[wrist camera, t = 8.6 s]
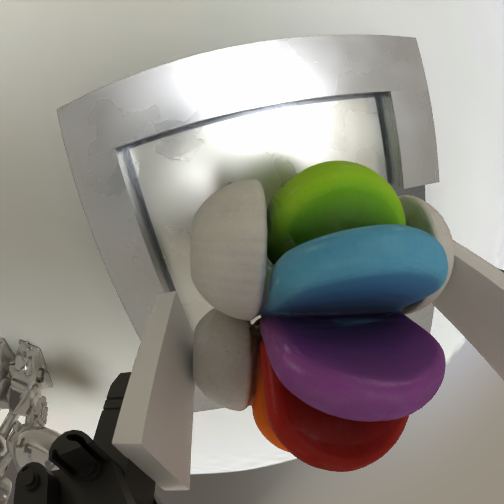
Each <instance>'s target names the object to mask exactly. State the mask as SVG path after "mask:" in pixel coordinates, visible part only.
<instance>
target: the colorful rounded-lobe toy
mask: <svg viewBox="0 0 504 504" xmlns="http://www.w3.org/2000/svg"><path fill="white" fill-rule="evenodd" d="M453 263H454V246H453V240H452V236H451V233H450V230H449V228H448V226H447V224H446V222H445V221H444V219H443V217H442V216H441V215H440V214H439V212H438V211H437V210H435V209H434V208H433V207H432V206H431V205H430V204H428V203H427V202H425V201H424V200H422V199H419V198H417V197H415V196H411V195H401V196H397V194H396V192H395V191H394V189H393V188H392V187H391V186H390V184H389V183H388V182H387V181H386V180H385V179H384V178H383V177H381V176H380V175H379V174H378V173H376V172H375V171H373V170H372V169H370V168H368V167H366V166H364V165H361V164H358V163H354V162H348V161H337V160H335V161H327V162H322V163H319V164H316V165H313V166H310V167H308V168H306V169H305V170H303V171H301V172H300V173H298V174H297V175H295V176H294V177H293V178H292V179H291V180H289V181H288V182H287V183H286V184H285V185H284V186H283V187H282V188H281V189H280V190H279V191H278V193H277V194H276V195H274V196H272V198H271V199H270V202H269V204H268V207H267V208H266V200H265V195H264V190H263V187H262V184H261V183H260V182H259V181H258V180H254V179H249V180H242V181H238V182H234V183H231V184H229V185H227V186H225V187H223V188H221V189H219V190H218V191H216V192H215V193H213V194H212V195H211V196H210V197H209V198H208V199H207V200H206V201H205V202H204V203H203V204H202V205H201V206H200V208H199V209H198V210H197V212H196V214H195V216H194V220H193V224H192V234H191V252H190V269H191V278H192V281H193V283H194V285H195V287H196V289H197V290H198V292H199V293H200V294H201V295H202V296H203V298H204V299H205V300H206V301H207V302H208V303H209V304H210V305H212V306H213V307H214V308H213V309H212V310H210V311H209V312H208V313H207V314H206V315H204V316H203V318H202V319H201V320H200V321H199V322H198V324H197V326H196V328H195V332H194V345H193V378H194V381H195V383H196V385H197V386H198V388H199V389H200V390H201V391H202V393H203V394H204V395H205V396H206V397H208V398H209V399H210V400H211V401H213V402H214V403H216V404H218V405H220V406H222V407H225V408H227V409H231V410H236V411H242V410H244V409H246V408H247V407H248V406H249V405H251V406H252V409H253V416H254V420H255V422H256V425H257V426H258V428H259V430H260V431H261V433H262V434H263V435H264V436H265V438H266V439H267V440H269V441H270V442H271V443H272V444H274V445H275V446H276V447H278V448H280V449H282V450H285V451H287V452H290V453H292V454H293V455H294V456H295V457H297V458H298V459H300V460H301V461H303V462H305V463H307V464H309V465H311V466H313V467H316V468H320V469H324V470H329V471H337V472H346V471H353V470H357V469H360V468H363V467H365V466H367V465H369V464H371V463H373V462H375V461H376V460H378V459H379V458H381V457H382V456H383V455H385V453H387V452H388V451H389V450H390V449H391V448H392V446H393V445H394V444H395V443H396V442H397V440H398V439H399V437H400V435H401V434H402V432H403V430H404V428H405V425H406V422H407V420H408V417H409V415H410V414H412V413H414V412H415V411H417V410H419V409H420V408H422V407H423V406H424V405H425V404H426V403H428V402H429V401H430V400H431V399H432V398H433V396H434V395H435V393H436V392H437V391H438V389H439V387H440V385H441V383H442V381H443V378H444V374H445V373H444V372H445V355H444V352H443V349H442V348H441V346H440V344H439V343H438V342H437V340H436V339H435V338H434V337H433V336H432V335H431V334H430V333H429V332H427V331H426V330H425V329H423V328H422V327H421V326H419V325H418V324H417V323H415V322H414V321H412V320H411V319H410V318H408V317H407V316H406V315H405V314H411V313H414V312H416V311H419V310H421V309H423V308H425V307H426V306H428V305H429V304H431V303H432V302H433V301H434V300H435V299H436V298H437V297H438V296H439V295H440V294H441V293H442V291H443V290H444V288H445V286H446V285H447V283H448V281H449V278H450V276H451V273H452V269H453ZM259 315H260V316H261V318H259V319H258V320H256V321H255V323H253V324H251V320H253V319H254V318H255V317H257V316H259Z"/></svg>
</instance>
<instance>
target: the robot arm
mask: <svg viewBox="0 0 504 504" xmlns="http://www.w3.org/2000/svg"><path fill="white" fill-rule="evenodd" d="M453 246H454V263H453V269H452V273H451V276H450V278H449V281H448V283H447V285H446V286H445V288H444V290H443V291H442V293H441V294H440V295H439V296H438V297H437V298H436V299H435V300H434V301H433V302H432V304H433V305H434V306H435V307H436V308H437V309H438V310H439V311H440V312H441V313H442V314H443V315H444V316H445V317H446V318H447V319H448V320H449V321H450V322H451V323H452V324H453V325H454V326H455V327H456V328H457V329H458V330H459V331H460V332H461V333H462V334H463V336H464V337H465V338H466V339H467V340H468V341H469V342H470V343H471V344H472V345H473V346H474V347H475V348H476V349H477V351H478V352H479V353H480V354H481V355H482V356H483V357H484V358H485V360H486V361H487V362H488V363H489V364H490V365H491V366H492V367H493V369H494V370H495V371H496V372H497V373H498V374H499V376H500V377H501V378H502V379H503V380H504V270H501V269H498V268H496V267H495V266H493V265H492V264H490V263H489V262H487V261H486V260H484V259H482V258H481V257H479V256H478V255H476V254H475V253H473V252H472V251H470V250H468V249H467V248H465V247H464V246H462V245H460V244H459V243H457V242H455V241H454V240H453ZM193 345H194V334H193V332H192V329H191V327H190V325H189V322H188V320H187V317H186V315H185V313H184V310H183V308H182V305H181V303H180V300H179V298H178V295H177V292H176V291H173V292H168V293H164V294H159V295H157V298H156V301H155V303H154V306H153V309H152V312H151V315H150V317H149V320H148V323H147V326H146V329H145V332H144V335H143V338H142V341H141V344H140V347H139V350H138V353H137V356H136V359H135V363H134V366H133V369H132V372H128V373H120V374H119V375H118V377H117V378H116V379H115V381H114V382H113V383H112V384H111V386H110V389H109V392H108V395H107V400H106V401H105V404H104V407H103V409H104V411H102V413H101V416H100V420H99V423H98V426H97V429H96V433H95V436H94V439H93V440H92V439H91V438H90V437H89V436H88V435H87V434H85V433H84V432H82V431H78V430H71V431H67V432H65V433H63V434H62V435H60V436H58V437H57V439H56V440H55V441H54V442H53V443H52V445H51V447H50V450H49V457H48V460H50V461H51V462H52V463H53V464H54V465H56V466H57V467H58V468H59V470H54V471H49V470H48V469H47V468H46V467H44V466H43V465H42V464H40V463H38V462H31V463H27V464H26V465H25V466H23V467H22V468H21V470H20V471H19V473H18V475H17V478H16V484H15V495H14V504H162V502H161V500H160V499H159V498H158V496H157V495H156V494H155V493H154V491H155V483H156V484H157V485H159V486H160V487H161V488H162V489H164V490H190V463H191V441H192V423H193V407H194V392H195V381H194V378H193Z"/></svg>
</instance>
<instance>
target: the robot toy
mask: <svg viewBox="0 0 504 504" xmlns="http://www.w3.org/2000/svg"><path fill="white" fill-rule="evenodd" d="M19 344H20V346H19V348H18V351H17V354H16V358H15V356H14V355H13V353H12V351H11V350H10V348H9V346H8V345H7V343H6V341H5V340H4V339H0V410H1V409H9V413H8V415H7V416H6V418H5V420H4V421H3V423H2V425H1V426H0V478H1V477H2V476H3V475H4V474H5V472H6V470H7V468H8V465H9V463H10V461H11V460H12V459H13V460H14V463H15V466H16V468H17V470H18V472H19V471H20V470H21V468H22V467H23V466H25V465H26V464H27V463H31V462H38V463H40V464H42V465H43V466H44V467H46V468H47V469H48V470H49V471H54V470H59V468H58V467H57V466H56V465H54V464H53V463H52V462H51V461H50V460H48V457H49V450H50V447H51V445H52V443H53V442H54V441H55V440H56V439H57V437H58V436H60V435H61V434H59V433H58V432H57V431H55V430H52V429H49V428H46V427H44V425H45V424H46V422H47V415H48V413H47V412H48V407H46V406H47V402H46V397H44V396H41V391H40V389H42V388H47V387H50V388H52V387H53V384H52V382H51V379H50V377H49V374H48V372H47V371H46V365H45V362H44V359H43V356H42V353H41V351H40V349H39V348H38V347H35V346H32V345H30V344H28V342H27V341H26V343H25V342H23V341H21V340H19ZM13 363H15V365H10V364H13ZM9 369H10V371H11V374H10V372H9ZM40 369H42V370H40ZM20 415H21V416H26V420H25V424H21V423H20V422H19V421H18V418H19V416H20ZM12 429H13V431H12V432H11V430H12ZM10 432H11V433H10ZM11 489H12V483H11V481H10V480H9V479H8V478H3V479H0V504H6V503H7V501H8V499H9V497H10V494H11Z"/></svg>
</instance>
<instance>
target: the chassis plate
mask: <svg viewBox="0 0 504 504" xmlns="http://www.w3.org/2000/svg"><path fill="white" fill-rule="evenodd" d="M57 114H58V119H59V123H60V128H61V132H62V136H63V140H64V145H65V148H66V152H67V156H68V160H69V163H70V167H71V170H72V174H73V177H74V181H75V184H76V187H77V190H78V193H79V197H80V200H81V203H82V206H83V209H84V211H85V214H86V217H87V220H88V223H89V226H90V228H91V231H92V234H93V236H94V239H95V242H96V244H97V247H98V249H99V252H100V254H101V257H102V259H103V261H104V264H105V266H106V269H107V271H108V273H109V276H110V278H111V280H112V282H113V285H114V287H115V289H116V291H117V293H118V296H119V298H120V300H121V302H122V304H123V306H124V308H125V310H126V312H127V314H128V316H129V318H130V320H131V322H132V324H133V326H134V328H135V330H136V332H137V334H138V336H139V338H140V340H141V341H142V338H143V335H144V332H145V329H146V326H147V323H148V320H149V317H150V315H151V312H152V309H153V306H154V303H155V301H156V298H157V295H159V294H164V293H168V292H173V291H176V292H177V295H178V298H179V300H180V303H181V305H182V308H183V310H184V313H185V315H186V317H187V320H188V322H189V325H190V327H191V329H192V332H193V334H194V332H195V328H196V326H197V324H198V322H199V321H200V320H201V319H202V318H203V316H204V315H206V314H207V313H208V312H209V311H210V310H212V309H213V308H214V307H213V306H212V305H210V304H209V303H208V302H207V301H206V300H205V299H204V298H203V296H202V295H201V294H200V293H199V292H198V290H197V289H196V287H195V285H194V283H193V281H192V278H191V269H190V252H191V234H192V224H193V220H194V216H195V214H196V212H197V210H198V209H199V208H200V206H201V205H202V204H203V203H204V202H205V201H206V200H207V199H208V198H209V197H210V196H211V195H212V194H213V193H215V192H216V191H218V190H219V189H221V188H223V187H225V186H227V185H229V184H231V183H234V182H238V181H242V180H249V179H254V180H258V181H259V182H260V183H261V184H262V187H263V190H264V195H265V200H266V208H267V207H268V204H269V202H270V199H271V198H272V196H274V195H276V194H277V193H278V191H279V190H280V189H281V188H282V187H283V186H284V185H285V184H286V183H287V182H288V181H289V180H291V179H292V178H293V177H294V176H295V175H297V174H298V173H300V172H301V171H303V170H305V169H306V168H308V167H310V166H313V165H316V164H319V163H322V162H327V161H335V160H337V161H348V162H354V163H358V164H361V165H364V166H366V167H368V168H370V169H372V170H373V171H375V172H376V173H378V174H379V175H380V176H381V177H383V178H384V179H385V180H386V181H387V182H388V183H389V184H390V186H391V187H392V188H393V189H394V191H395V192H396V194H397V196H401V195H411V196H415V197H417V198H419V199H422V200H424V201H425V185H426V184H431V183H436V182H439V169H438V156H437V145H436V136H435V128H434V121H433V114H432V108H431V102H430V97H429V91H428V86H427V81H426V77H425V72H424V68H423V64H422V59H421V55H420V52H419V48H418V44H417V41H416V38H412V37H401V36H387V35H321V36H306V37H295V38H285V39H277V40H269V41H262V42H256V43H250V44H244V45H239V46H234V47H229V48H224V49H219V50H215V51H211V52H206V53H202V54H198V55H194V56H191V57H187V58H183V59H180V60H176V61H173V62H170V63H167V64H163V65H160V66H157V67H154V68H151V69H148V70H145V71H143V72H140V73H137V74H134V75H132V76H129V77H126V78H124V79H121V80H119V81H116V82H114V83H111V84H109V85H107V86H104V87H102V88H100V89H97V90H95V91H93V92H91V93H89V94H87V95H84V96H82V97H80V98H78V99H76V100H74V101H72V102H70V103H68V104H66V105H64V106H62V107H60V108H59V109H57ZM433 311H434V305H433V304H432V303H431V304H429V305H428V306H426V307H425V308H423V309H421V310H419V311H416V312H414V313H411V314H405V315H406V316H407V317H408V318H410V319H411V320H412V321H414V322H415V323H417V324H418V325H419V326H421V327H422V328H423V329H425V330H426V331H427V332H429V333H430V331H431V325H432V318H433ZM259 318H261V316H260V315H259V316H257V317H255V318H254V319H253V320H251V324H253V323H255V321H256V320H258V319H259ZM218 408H225V407H222V406H220V405H218V404H216V403H214V402H213V401H211V400H210V399H209V398H208V397H206V396H205V395H204V394H203V393H202V391H201V390H200V389H199V388H198V386H197V385H196V383H195V392H194V407H193V412H198V411H205V410H212V409H218Z"/></svg>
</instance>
